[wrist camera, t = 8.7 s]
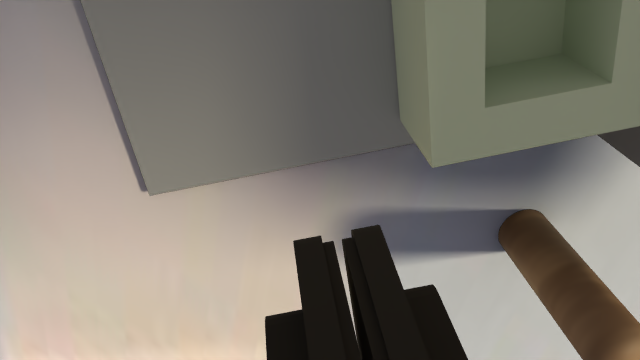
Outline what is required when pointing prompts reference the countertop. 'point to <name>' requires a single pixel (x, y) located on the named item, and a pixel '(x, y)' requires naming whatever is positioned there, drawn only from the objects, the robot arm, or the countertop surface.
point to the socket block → (514, 73)
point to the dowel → (570, 289)
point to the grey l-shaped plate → (254, 84)
